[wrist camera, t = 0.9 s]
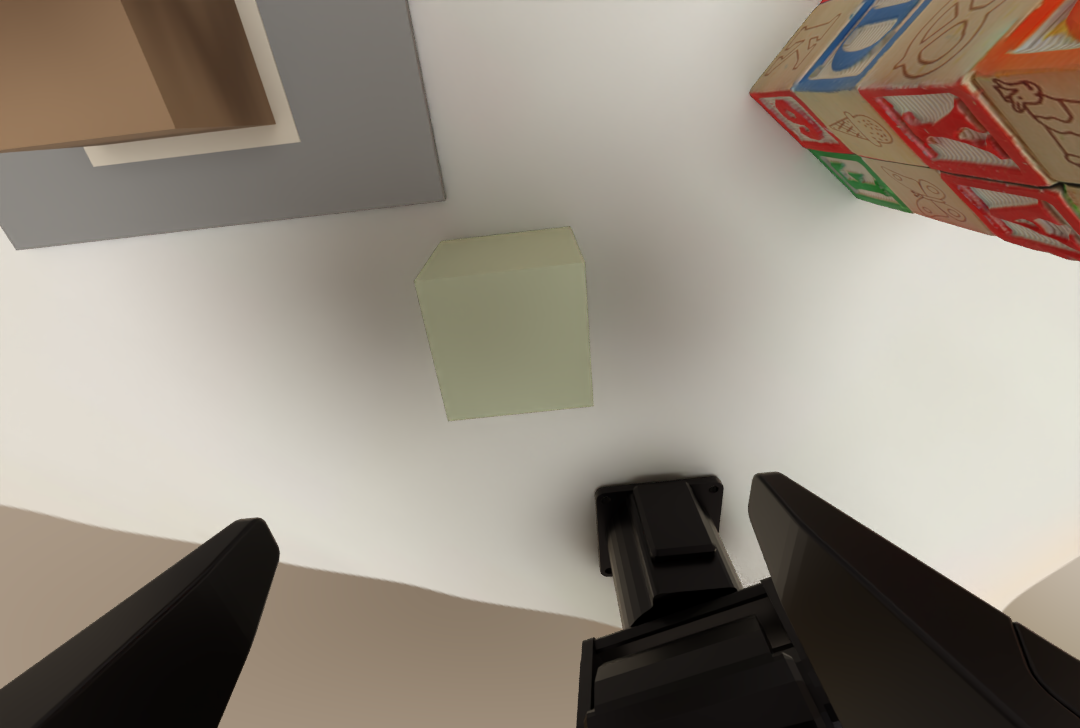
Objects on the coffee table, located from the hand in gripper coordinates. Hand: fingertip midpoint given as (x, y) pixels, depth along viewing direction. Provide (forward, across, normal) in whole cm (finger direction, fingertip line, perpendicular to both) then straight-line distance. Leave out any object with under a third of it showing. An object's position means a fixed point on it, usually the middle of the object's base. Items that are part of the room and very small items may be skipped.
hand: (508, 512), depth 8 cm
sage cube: (+12, 0, 0) cm, 12 cm away
